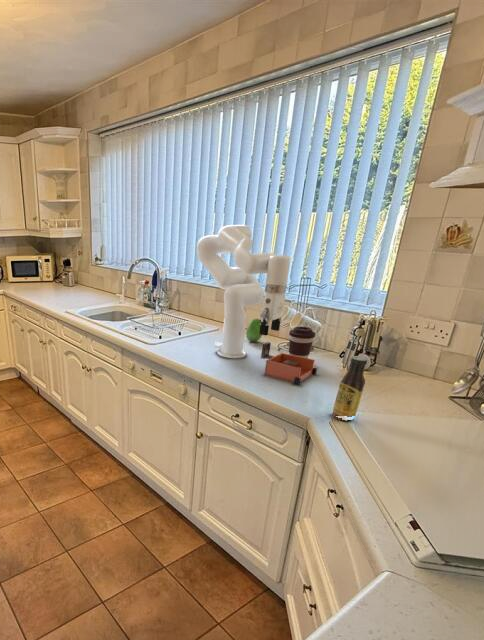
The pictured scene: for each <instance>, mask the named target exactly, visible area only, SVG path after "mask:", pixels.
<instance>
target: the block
mask: <svg viewBox="0 0 484 640" xmlns="http://www.w3.org/2000/svg"><path fill="white" fill-rule="evenodd" d="M282 364H286V365H290V366H295V367H298V364H299V362H295V361H290V360H286V361H284V362H283V363H282Z"/></svg>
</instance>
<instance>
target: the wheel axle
mask: <svg viewBox="0 0 484 640" xmlns="http://www.w3.org/2000/svg"><path fill="white" fill-rule="evenodd" d="M317 372H318V368H317V367H314V366H313V372H312V375H313V376H316V375H317ZM312 375H311V376H312ZM301 383H302V381H301V378H297V377H295V379H294V383H293V385H295V386H298V387H300V386H301Z"/></svg>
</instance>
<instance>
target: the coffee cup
mask: <svg viewBox="0 0 484 640" xmlns="http://www.w3.org/2000/svg"><path fill="white" fill-rule="evenodd" d="M288 335H289V336H290V338H289V342H288V354H289V355H294V356H298V357H303V358H308V359H309V355H310V354H311V350H312V345H313V343H314V342H313V340H314V339H315V337H316V332H315V331H313V328H311V327H309V326H295V327H294V328H293V329H290V330H289V333H288Z"/></svg>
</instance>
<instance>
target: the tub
mask: <svg viewBox="0 0 484 640" xmlns="http://www.w3.org/2000/svg"><path fill="white" fill-rule="evenodd" d="M271 346H272V345H271V341H266V342H264V343H262V345H261V353H260V359H263V360H264V359H267V360H266V362H265V369H264V376H265V377H266V376H267V377H270V378H274V379H278V380H281V381H285V382H289V383H292V384H294V379H295V377H297V378H301V382H303V381H304V380H306V379H308V378H309V377H311V376H312V372H313V367H314V366H315V360H316V359H312V358H309V357H308V358H303V357H298V356H294V355H289V353H284V352H280V353H278V354H276V355H275V356H274V355H270V352H271ZM286 360H290V361H295V362H299V364H298V367H295V366H290V365H286V364H282V363H283V362H284V361H286Z"/></svg>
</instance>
